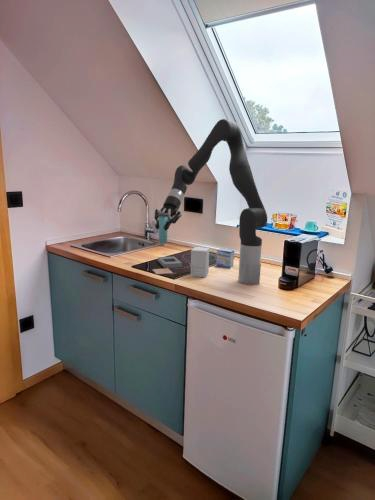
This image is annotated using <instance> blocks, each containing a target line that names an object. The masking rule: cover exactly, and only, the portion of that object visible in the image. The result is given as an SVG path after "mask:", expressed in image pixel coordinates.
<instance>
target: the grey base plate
mask: <svg viewBox="0 0 375 500" xmlns="http://www.w3.org/2000/svg"><path fill="white" fill-rule="evenodd" d="M157 262H158V263H159V264H160V265H161V266H162V267H163V269H165V268H168V269H171V268H172V269H173V268H176V269H177V268H183V262H182V261H180V260H179V259H178V258H176V256H159V257H157Z"/></svg>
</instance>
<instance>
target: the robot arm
mask: <svg viewBox="0 0 375 500" xmlns="http://www.w3.org/2000/svg"><path fill="white" fill-rule="evenodd" d="M241 130H242V129H241V127H240V125H239V124H238V123H237V122H236V121H234V120H230V119H226V118H222V119H219V120H218V121H217V122H216V123H215V125H214V126H213V128H211V130H210V132H209V133H208V135H207V137H206V138H205V140H204V141H203V143H202V145H201V146H200V147H199V149H198V150H197V151H196V152H195V153H194V155H193V156H192V157H191V158H190V159H189V160H188V162H187V165H188V167H189V168H190V169H189V168H188V167H187V166H185V165H183V164H182V165H179V166H178V167H177V168H176V169H175V172H174V179H173V183H172V186H171V189H170V190H169V192H168V194H167V196H166V198H165V200H164V202H163V206H162V207H161V209H158V208H155V210H154V220H155V221H156V222H155V225H154V227H155V229H156V230H159V216H158V213H168V220H167V222H166V224H165V226H164V229H165V230H167V231H168V230H169V228H170V226H171V225H172V224H176V223H177V222H178V221H179V219H181V217H183V216H182V212H181V211H179V209H180V207H181V204H182V202H183V200H184V196H185V194H186V192H187V189H188V186H191V185H193V183H194V182H195V180H196V178H197V176H198V174H199V172H200V171H201V170H202V169H203V168H204V167H205V165H207V163H208V162H209V160H210V158H211V156H212V153H213V151H214V148H215V147H216V146H217V145H218V144H219V143H220V142H222V141H223V142H226V143H227V146H228V148H229V152H230V160H229V165H228V171H229V174H230V178H231V180H232V184H233V186H234V187H235V189H236V190H237V191H238V192H239V193H240V195H241V196H242V197H243V198H244V200H245V201H246V203H247V206H248V207H247V208H244V209H242V211H241V213H240V215H239V222H238V225H239V231H238V233H239V239H240V244H239V245H240V247H239V248H240V249H239V264H238V277H237V278H238V279H237V281H238V282H239V283H241V284H245V285H247V286H250V285H260V280H261V267H262V266H261V265H262V263H261V259H262V245H263V244H262V243H263V239H262V237H260V236H257V233H256V231H257V229H262V228H265V227H266V225H267V224H268V214H267V211H266V208H265V206H264V203H263V201H262V199H261V197H260V194H259V191H258V188H257V185H256V182H255V179H254V175H253V172H252V168H251V166H250V162H249V159H248V156H247V154H246V150H245V147H244V142H243V135H242V131H241Z"/></svg>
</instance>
